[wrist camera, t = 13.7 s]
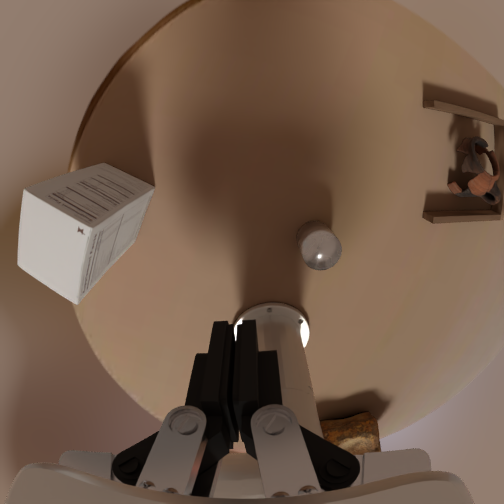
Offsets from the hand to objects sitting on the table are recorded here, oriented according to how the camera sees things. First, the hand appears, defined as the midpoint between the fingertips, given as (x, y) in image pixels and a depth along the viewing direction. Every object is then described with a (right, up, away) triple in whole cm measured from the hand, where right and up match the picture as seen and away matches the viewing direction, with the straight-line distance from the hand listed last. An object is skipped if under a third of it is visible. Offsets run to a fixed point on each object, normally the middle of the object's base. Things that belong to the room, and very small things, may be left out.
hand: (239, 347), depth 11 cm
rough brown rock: (+25, -40, +47) cm, 66 cm away
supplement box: (-18, +11, +25) cm, 33 cm away
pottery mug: (+36, +17, +23) cm, 46 cm away
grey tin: (+9, +6, +27) cm, 29 cm away
